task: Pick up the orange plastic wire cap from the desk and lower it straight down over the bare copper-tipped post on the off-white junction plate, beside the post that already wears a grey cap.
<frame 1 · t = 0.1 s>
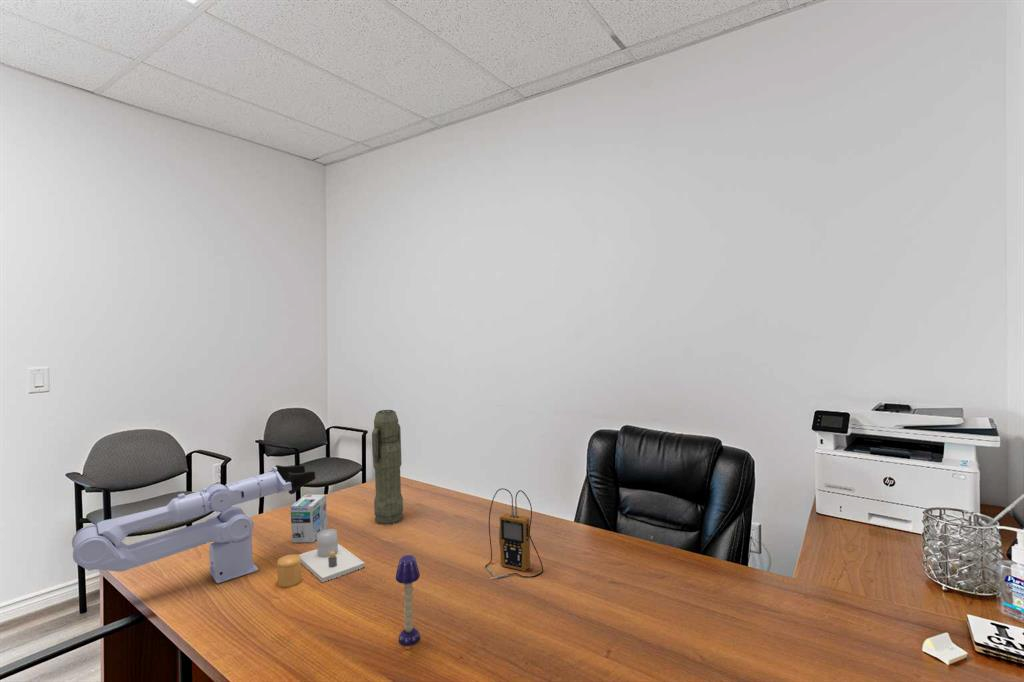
hand: (309, 472, 143), 22 cm above the table, tool horizontal, fingers open, 7 cm apart
wire cap: (289, 581, 125), on the table
multimeter: (509, 574, 127), on the table
light bulb box: (310, 536, 152), on the table
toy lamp: (409, 641, 101), on the table
thermos: (389, 520, 163), on the table
junction plate: (330, 563, 134), on the table
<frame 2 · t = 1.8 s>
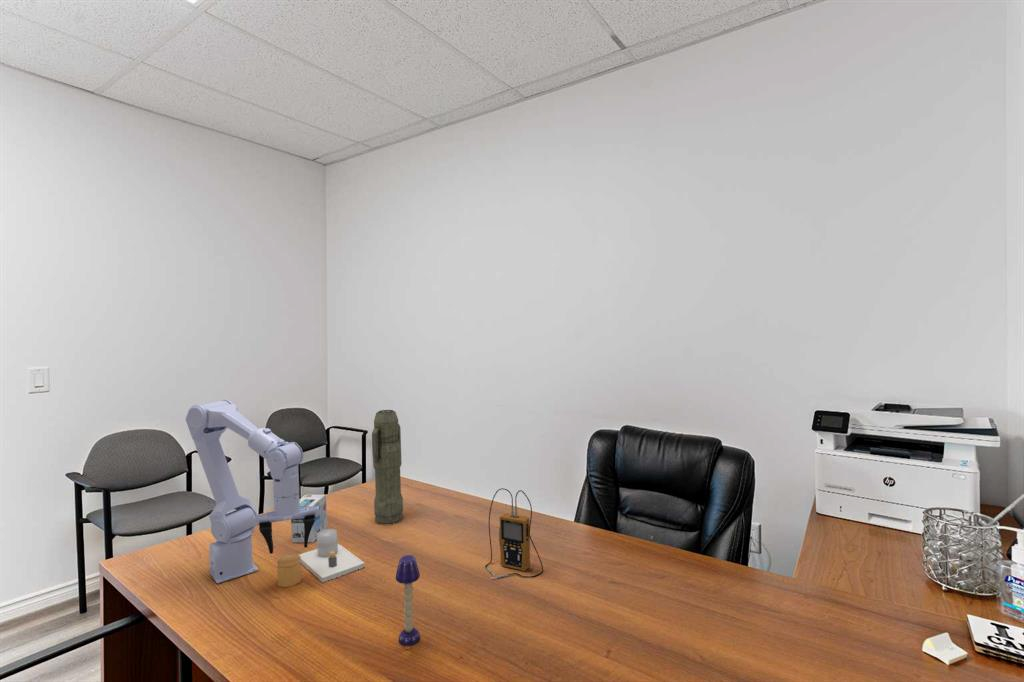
hand: (288, 548, 125), 8 cm above the table, tool pointing down, fingers open, 7 cm apart
nothing on the table moved.
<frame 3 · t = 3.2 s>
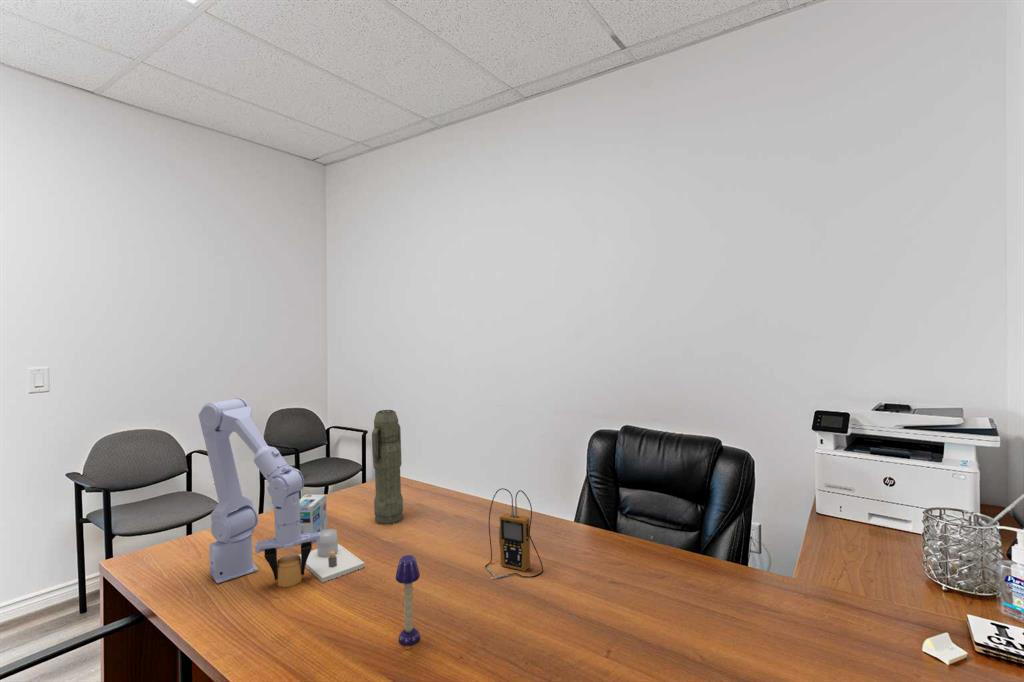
hand: (289, 575, 125), 1 cm above the table, tool pointing down, fingers closed on wire cap, 5 cm apart
wire cap: (289, 581, 125), on the table, touching gripper
everything else where it was.
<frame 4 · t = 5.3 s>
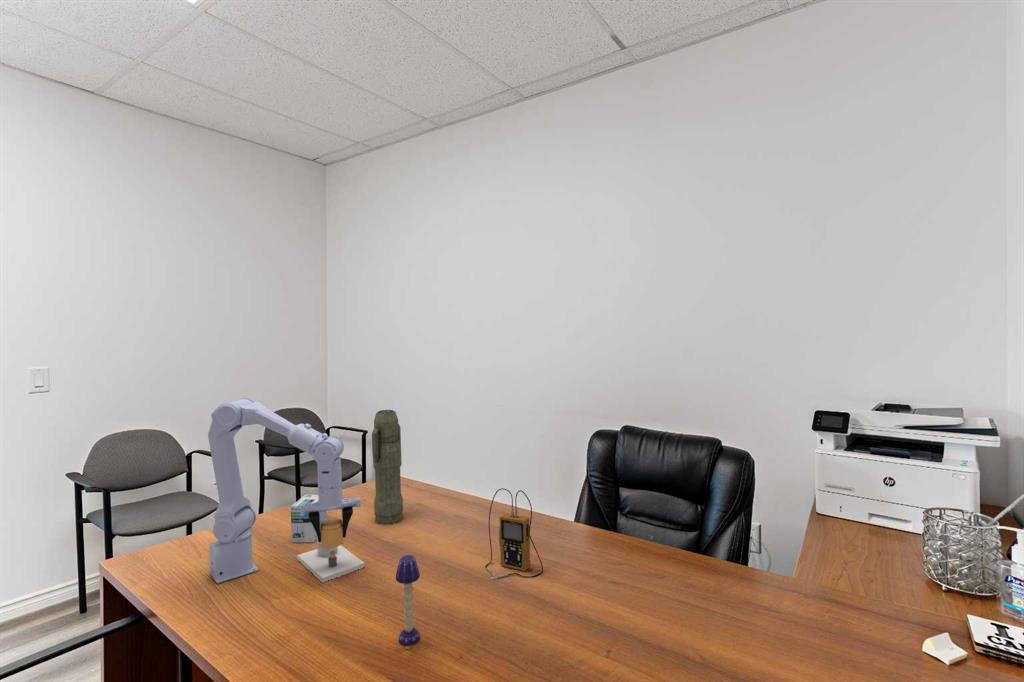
hand: (331, 538, 130), 8 cm above the table, tool pointing down, fingers closed on wire cap, 5 cm apart
wire cap: (332, 543, 130), point 7 cm above the table, touching gripper
everything else where it was.
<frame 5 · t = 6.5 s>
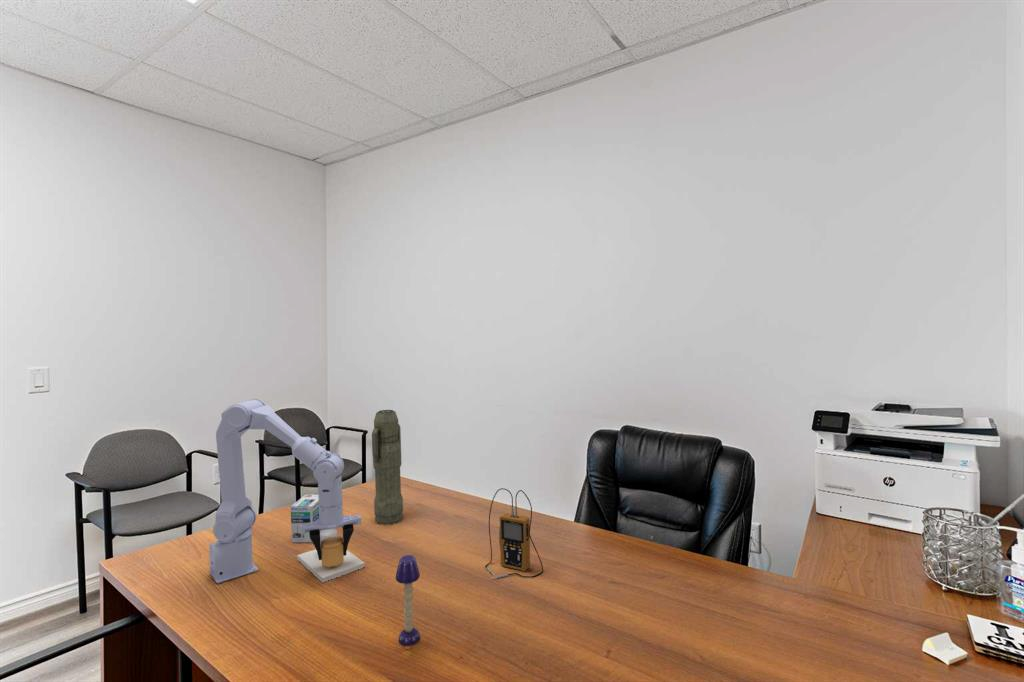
hand: (332, 556, 130), 4 cm above the table, tool pointing down, fingers closed on wire cap, 5 cm apart
wire cap: (332, 561, 130), point 2 cm above the table, touching gripper
everything else where it was.
when the fingers open (4 cm above the table, at t = 7.2 s): wire cap drops 1 cm, resting on junction plate.
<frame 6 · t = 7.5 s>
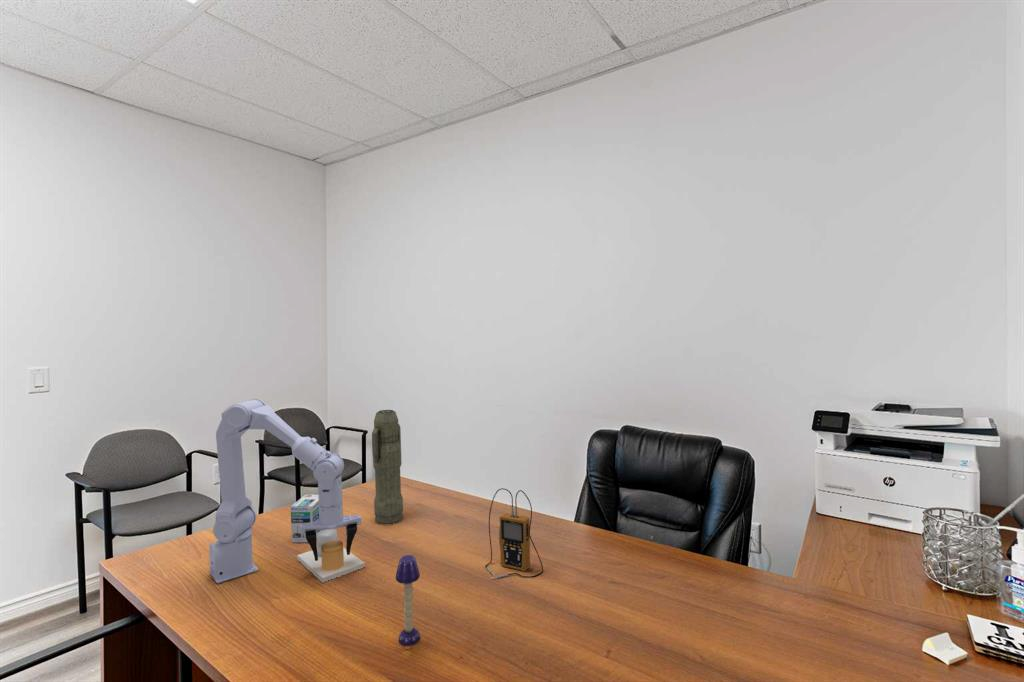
hand: (332, 556, 130), 4 cm above the table, tool pointing down, fingers open, 7 cm apart
wire cap: (332, 565, 130), point 1 cm above the table, touching junction plate
everything else where it was.
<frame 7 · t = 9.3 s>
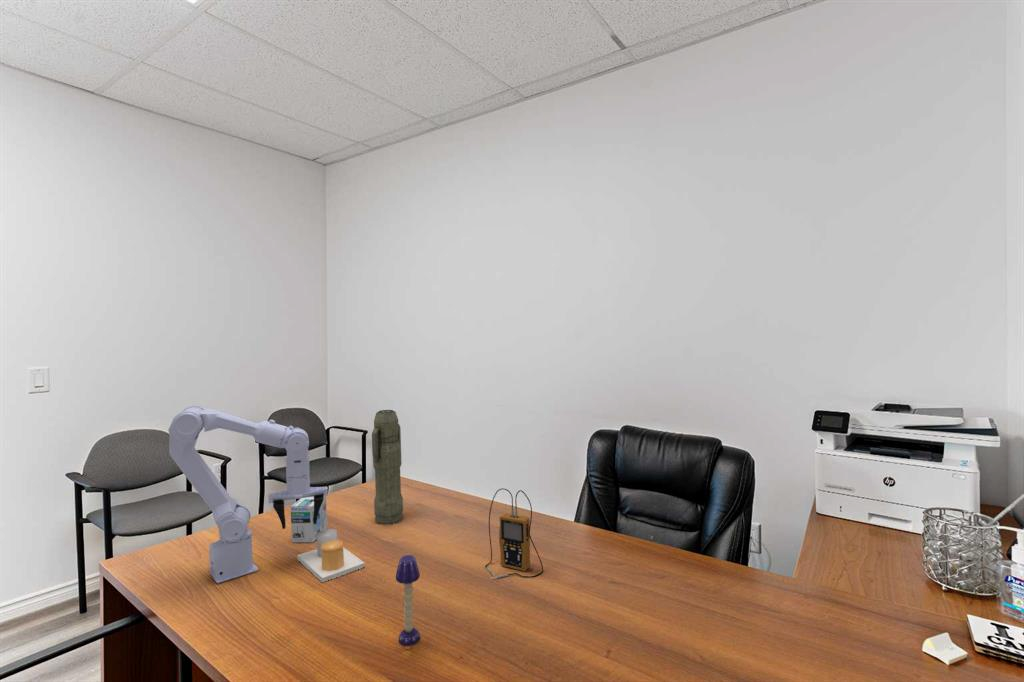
hand: (299, 525, 136), 9 cm above the table, tool pointing down, fingers open, 7 cm apart
nothing on the table moved.
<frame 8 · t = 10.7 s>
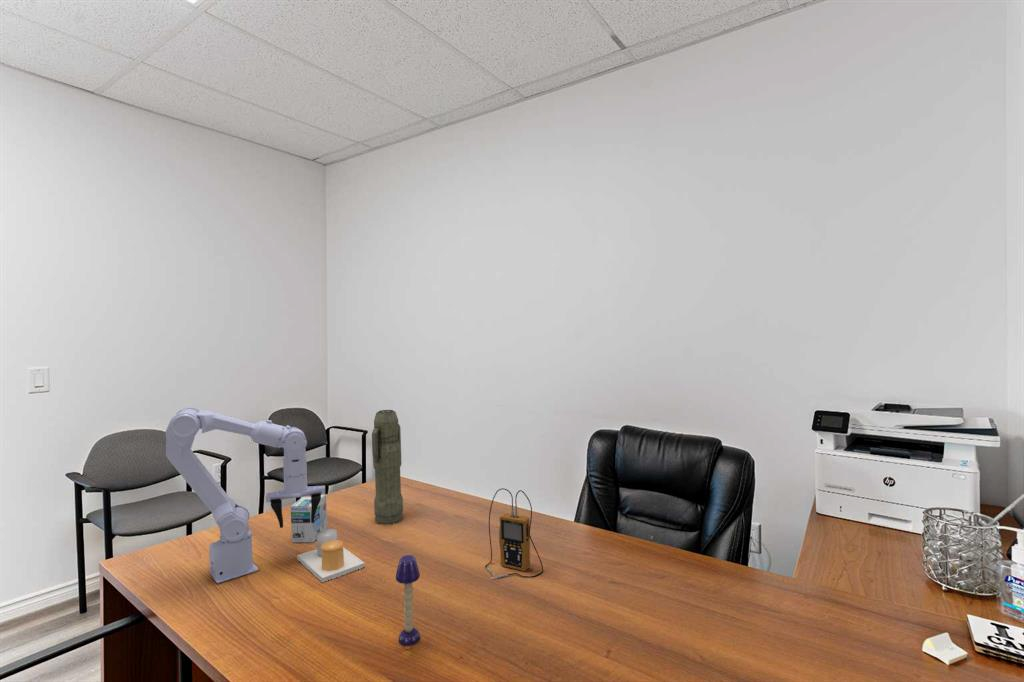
hand: (297, 524, 137), 9 cm above the table, tool pointing down, fingers open, 7 cm apart
nothing on the table moved.
at the end: wire cap 0.1 cm from the target spot on the junction plate, point 1.2 cm above the junction plate's base; wire cap tilted 0°; the gripper is holding nothing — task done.
